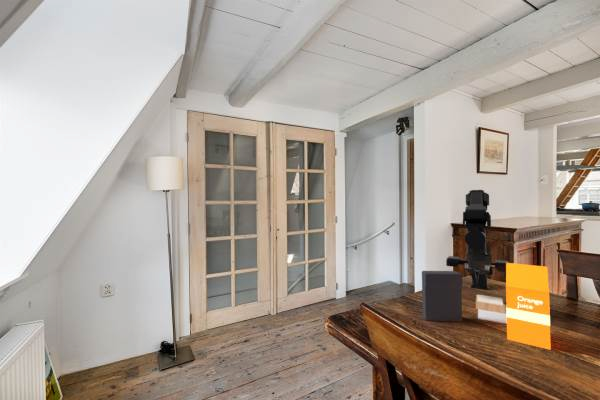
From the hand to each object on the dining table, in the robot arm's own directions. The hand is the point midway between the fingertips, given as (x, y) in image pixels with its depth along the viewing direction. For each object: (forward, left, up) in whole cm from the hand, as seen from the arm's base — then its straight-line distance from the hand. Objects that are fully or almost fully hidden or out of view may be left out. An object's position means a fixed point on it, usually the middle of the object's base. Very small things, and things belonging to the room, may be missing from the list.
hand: (477, 287), depth 97 cm
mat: (+3, +8, -6) cm, 11 cm away
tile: (0, 0, -5) cm, 5 cm away
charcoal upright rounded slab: (+18, -9, -7) cm, 21 cm away
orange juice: (+20, +12, -7) cm, 24 cm away
